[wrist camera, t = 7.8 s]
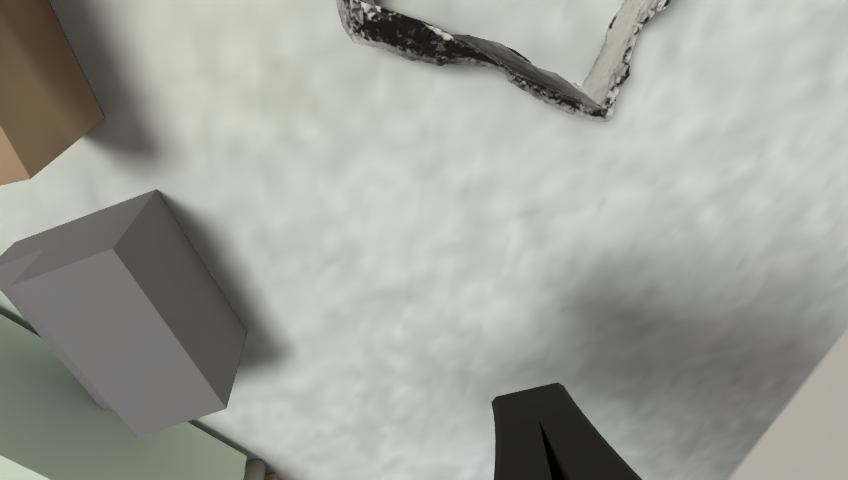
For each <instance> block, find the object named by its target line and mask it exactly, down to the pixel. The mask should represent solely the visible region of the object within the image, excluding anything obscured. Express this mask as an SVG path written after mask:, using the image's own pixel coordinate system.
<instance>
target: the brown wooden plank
mask: <svg viewBox="0 0 848 480" xmlns="http://www.w3.org/2000/svg"><path fill="white" fill-rule="evenodd" d="M104 118H105V117H104V115H103V113H102V111H101V109H100V107H99V105H98V103H97V101H96V99H95V97H94V95H93V92H92V90H91V88H90V86H89V84H88V82H87V80H86V78H85V76H84V74H83V72H82V70H81V67H80V65H79V63H78V61H77V59H76V57H75V55H74V53H73V51H72V49H71V47H70V45H69V42H68V40H67V38H66V36H65V34H64V32H63V30H62V28H61V26H60V24H59V22H58V20H57V17H56V15H55V13H54V11H53V9H52V7H51V5H50V3H49V1H48V0H0V185H5V184H9V183H13V182H18V181H22V180H27V179H31V178H32V177H33V176H34V175H36V174H37V173H38V172H39V171H41V170H42V169H43V168H44V167H45V166H47V165H48V164H49V163H50V162H52V161H53V160H54V159H55V158H56V157H58V156H59V155H60V154H61V153H63V152H64V151H65V150H66V149H68V148H69V147H70V146H71V145H72V144H74V143H75V142H76V141H77V140H79V139H80V138H81V137H82V136H83V135H85V134H86V133H87V132H88V131H90V130H91V129H92V128H93V127H95V126H96V125H97V124H98V123H99V122H101V121H102V120H103V119H104ZM265 471H266V464H265V462H263V461H262V460H258V459H254V460H250V461H249V462H248V463H247V464H246V469H245V474H244V478H243V480H278V478H277V476H276V474H275V473H272V474H268V475H265Z"/></svg>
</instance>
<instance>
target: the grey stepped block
mask: <svg viewBox="0 0 848 480" xmlns="http://www.w3.org/2000/svg"><path fill="white" fill-rule="evenodd" d="M0 290H1V291H2V292H3V293H4V294H5V296H6V297H7V298H8V299H9V300H10V301H11V303H12V304H13V305H14V306H15V307H16V308H17V310H18V311H19V312H20V313H21V314H22V316H23V317H24V318H25V319H26V320H27V321H28V323H29V324H30V325H31V326H32V327H33V328H34V330H35V331H36V332H37V333H38V334H39V335H40V337H41V338H42V339H43V340H44V341H45V342H46V344H47V345H48V346H49V347H50V348H51V349H52V351H53V352H54V353H55V354H56V355H57V356H58V358H59V359H60V360H61V361H62V362H63V363H64V365H65V366H66V367H67V368H68V369H69V371H70V372H71V373H72V374H73V375H74V376H75V378H76V379H77V380H78V381H79V382H80V383H81V385H82V386H83V387H84V388H85V389H86V390H87V392H88V393H89V394H90V395H91V396H92V397H93V399H94V400H95V401H96V402H97V403H98V404H99V406H100V407H101V408H102V409H103V410H104V411H105V410H108V409H111V408H113V410H114V411H115V412H116V413H117V414H118V416H119V417H120V418H121V419H122V420H123V421H124V423H125V424H126V425H127V426H128V427H129V429H130V430H131V431H132V432H133V433H134V435H135V436H136V437H137V438H139V437H142V436H145V435H148V434H151V433H154V432H157V431H160V430H163V429H166V428H169V427H172V426H175V425H178V424H181V423H184V422H187V421H190V420H193V419H196V418H199V417H202V416H205V415H208V414H211V413H214V412H217V411H220V410H223V409H226V408H227V404H228V401H229V397H230V394H231V390H232V386H233V383H234V379H235V376H236V372H237V368H238V365H239V361H240V358H241V354H242V351H243V347H244V343H245V340H246V336H247V333H248V332H247V331H246V329H245V327H244V326H243V324H242V323H241V321H240V320H239V318H238V316H237V315H236V313H235V312H234V310H233V309H232V307H231V305H230V304H229V302H228V301H227V299H226V298H225V296H224V294H223V293H222V291H221V290H220V288H219V286H218V285H217V283H216V282H215V280H214V279H213V277H212V275H211V274H210V272H209V271H208V269H207V268H206V266H205V264H204V263H203V261H202V260H201V258H200V257H199V255H198V253H197V252H196V250H195V249H194V247H193V245H192V244H191V242H190V241H189V239H188V238H187V236H186V234H185V233H184V231H183V230H182V228H181V227H180V225H179V223H178V222H177V220H176V219H175V217H174V216H173V214H172V212H171V211H170V209H169V208H168V206H167V204H166V203H165V201H164V200H163V198H162V197H161V195H160V193H159V192H158V190H157V189H156V190H153V191H151V192H148V193H145V194H143V195H140V196H137V197H135V198H132V199H129V200H127V201H124V202H121V203H119V204H116V205H113V206H111V207H108V208H105V209H103V210H100V211H97V212H95V213H92V214H89V215H87V216H84V217H81V218H79V219H76V220H73V221H71V222H68V223H65V224H63V225H60V226H57V227H55V228H52V229H49V230H47V231H44V232H41V233H39V234H36V235H33V236H31V237H28V238H25V239H23V240H20V241H17V242H15V243H14V244H13V245H12V246H11V247H10V248H9V249H7V250H6V251H5V252H4V253H3V254H2V255H1V256H0Z"/></svg>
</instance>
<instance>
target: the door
mask: <svg viewBox="0 0 848 480" xmlns="http://www.w3.org/2000/svg"><path fill="white" fill-rule="evenodd" d="M246 460H247V456H246V455H244V454H242V453H240V452H239V451H237V450H235V449H233V448H232V447H230V446H228V445H227V444H225V443H223V442H221V441H220V440H218V439H216V438H214V437H213V436H211V435H209V434H207V433H206V432H204V431H202V430H201V429H199V428H197V427H195V426H194V425H192V424H190V423H188V422H184V423H181V424H178V425H175V426H172V427H169V428H166V429H163V430H160V431H157V432H154V433H151V434H148V435H145V436H142V437H139V438H137V437H136V436H135V435H134V433H133V432H132V431H131V430H130V429H129V427H128V426H127V425H126V424H125V423H124V421H123V420H122V419H121V418H120V417H119V416H118V414H117V413H116V412H115V411H114V410H113V408H111V409H108V410H105V411H104V410H103V409H102V408H101V407H100V406H99V404H98V403H97V402H96V401H95V400H94V399H93V397H92V396H91V395H90V394H89V393H88V392H87V390H86V389H85V388H84V387H83V386H82V385H81V383H80V382H79V381H78V380H77V379H76V378H75V376H74V375H73V374H72V373H71V372H70V371H69V369H68V368H67V367H66V366H65V365H64V363H63V362H62V361H61V360H60V359H59V358H58V356H57V355H56V354H55V353H54V352H53V351H52V349H51V348H50V347H49V346H48V345H47V344H46V342H45V341H44V340H43V339H42V338H41V337H39V336H38V335H36V334H34V333H32V332H31V331H29V330H27V329H25V328H24V327H22V326H20V325H19V324H17V323H15V322H13V321H12V320H10V319H8V318H6V317H5V316H3V315H1V314H0V480H242V478H243V474H244V469H245V464H246Z"/></svg>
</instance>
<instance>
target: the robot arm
mask: <svg viewBox="0 0 848 480" xmlns="http://www.w3.org/2000/svg"><path fill="white" fill-rule="evenodd" d="M492 407H493V412H494V421H495V438H496V445H495V472H494V480H642V479H641V478H640V477H639V476H638V475H637V474H636V473H635V472H634V471H633V470H632V469H631V468H630V467H629V466H628V464H627V463H626V462H625V461H624V460H623V459H622V458H621V457H620V456H619V455H618V454H617V453H616V451H615V450H614V449H613V448H612V447H611V446H610V445H609V444H608V443H607V442H606V440H605V439H604V438H603V437H602V436H601V435H600V434H599V432H598V431H597V430H596V429H595V427H594V426H593V425H592V424H591V423H590V421H589V420H588V419H587V418H586V416H585V415H584V414H583V413H582V411H581V410H580V409H579V407H578V406H577V405H576V403H575V402H574V401H573V399H572V398H571V396H570V395H569V394H568V392H567V391H566V389H565V387H564V386H563V385H561V384H559V383H554V384H549V385H545V386H541V387H536V388H532V389H528V390H523V391H519V392H515V393H510V394H506V395H502V396H497V397H496V398H495V399H494V400H493V401H492Z"/></svg>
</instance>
